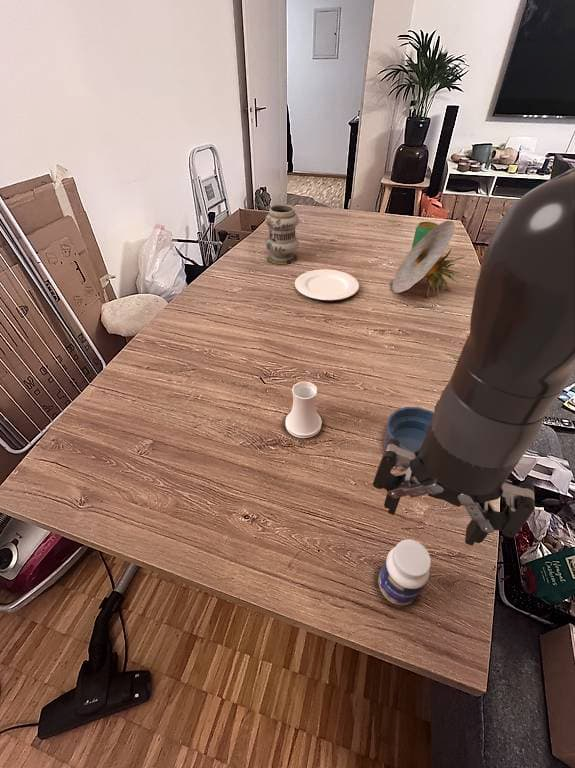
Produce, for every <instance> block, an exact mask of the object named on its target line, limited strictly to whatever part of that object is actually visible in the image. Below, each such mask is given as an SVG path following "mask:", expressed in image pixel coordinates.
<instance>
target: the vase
mask: <svg viewBox="0 0 575 768" xmlns="http://www.w3.org/2000/svg"><path fill="white" fill-rule="evenodd" d="M291 390H292V391H291V392H292V407H291V411H290V412H289V413H288V414H287V415H286V417H285V429H286V430H287V432H288V433H289V434H290V435H292V436H293V437H296V438H298V439H309V438H311V437H314V436H316V435H318V434H319V432H320V431H321V429H322V424H323V422H322V418H321V416H320V414H319V413H318V412H317V407H316V399H317V394H318V387H317V385H315V384H314V383H312V382H309V381H299V382H297V383H295V384H294V385H293V386H292V388H291Z"/></svg>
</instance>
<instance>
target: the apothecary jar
mask: <svg viewBox="0 0 575 768" xmlns="http://www.w3.org/2000/svg"><path fill="white" fill-rule="evenodd" d="M264 222H265V225H266V226H267V227H268V237H267V238H266V240H265V248H266V249H267V250H268V251H269V252H270V253H272V254H270V255H269V256H268V259H269V260H268V261H270V262H271V263H273V264H276V265H287V264H289V263H293V262H295V261H296V256H295V255H294V254H293V253H294V252H295V251H296V250H297V249H298V248H299V244H300V242H299V239H298V238H297V237H296V227H297V226H298V225H299V222H300V218H299V216H298V214H297V213H296V210H295V207H294V206H292V205H290V204H287V203H286V204H285V203H278V204H274V205H271V206H270V207H269V212H268V213H267V214H266V216H265V218H264Z"/></svg>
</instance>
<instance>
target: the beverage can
mask: <svg viewBox="0 0 575 768" xmlns="http://www.w3.org/2000/svg"><path fill="white" fill-rule="evenodd" d="M437 225H439V224H438V223H436V222H434V221H420V222H419V223H418V225H417V226H416V227H415V231H414V236H413V240H412V245H411V249H410V251H411V250H412V249H413V248H414V246H415V245H416V244H417V243H418V242H419V241H420V240H421V239H422V238H423V237H424V236H425V235H426V234H427V233H428V232H429V231H431V230H432V229H433V228H434V227H436V226H437Z"/></svg>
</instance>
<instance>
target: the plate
mask: <svg viewBox="0 0 575 768" xmlns="http://www.w3.org/2000/svg"><path fill="white" fill-rule="evenodd" d="M294 287H295V290H296V291H298V293H299V294H301V295H302V296H305V297H307V298H308V299H309V298H310V299H313V300H317V301H325V302H326V301H327V302H333V301H341V300H345V299H348V298H350V297H353V296H355V294H356V293H358V291H359V289H360V283H359V281H358V280H357V279H356V277H354V276H353V275H351V274H350V273H347V272H344V271H341V270H338V269H329V268H327V269H325V268H324V269H323V268H322V269H314V270H309V271H306V272H304V273H302V274H300V275H299V276H297V278H295V280H294Z"/></svg>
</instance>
